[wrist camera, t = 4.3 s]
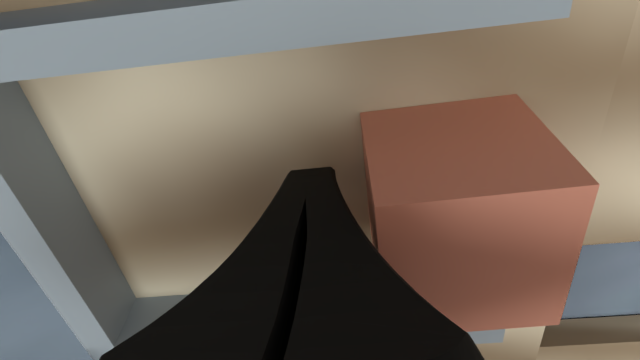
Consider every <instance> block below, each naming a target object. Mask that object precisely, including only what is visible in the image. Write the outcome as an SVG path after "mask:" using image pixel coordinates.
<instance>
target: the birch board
mask: <svg viewBox="0 0 640 360" xmlns="http://www.w3.org/2000/svg"><path fill="white" fill-rule="evenodd" d="M86 1H94V0H0V13H1V12H8V11H16V10H24V9H32V8H39V7H47V6H55V5H63V4H70V3H78V2H86ZM18 83H19V85H20V86H21V88H22V90H23V92H24V94H25V96H26V97H27V99H28V101H29V103H30V105H31V107H32V108H33V110H34V112H35V114H36V116H37V117H38V119H39V121H40V123H41V125H42V127H43V128H44V130H45V132H46V134H47V136H48V138H49V139H50V141H51V143H52V145H53V147H54V149H55V150H56V152H57V154H58V156H59V158H60V160H61V161H62V163H63V165H64V167H65V169H66V170H67V172H68V174H69V176H70V178H71V180H72V181H73V183H74V185H75V187H76V189H77V191H78V192H79V194H80V196H81V198H82V200H83V202H84V203H85V205H86V207H87V209H88V211H89V212H90V214H91V216H92V218H93V220H94V222H95V223H96V225H97V227H98V229H99V231H100V233H101V234H102V236H103V238H104V240H105V242H106V244H107V245H108V247H109V249H110V251H111V253H112V255H113V256H114V258H115V260H116V262H117V264H118V265H119V267H120V269H121V271H122V273H123V275H124V276H125V278H126V280H127V282H128V284H129V286H130V287H131V289H132V291H133V293H134V295H135V297H136V298H144V297H158V296H172V295H187V294H190V293H191V292H192V291H193V290H194V289H195V288H196V287H198V286H199V285H200V284H201V283H202V282H203V281H204V280H205V279H206V278H208V277H209V276H210V275H211V274H212V273H213V272H214V271H215V270H216V269H217V268H218V267H219V266H220V265H221V264H222V263H223V262H224V261H225V260H226V259H227V258H228V257H229V256H230V255H231V254H232V252H233V251H234V250H235V249H236V248H237V247H238V245H239V244H240V243H241V242H242V241H243V239H244V238H245V237H246V236H247V234H248V233H249V232H250V230H251V229H252V228H253V227H254V225H255V224H256V223H257V221H258V220H259V219H260V217H261V216H262V214H263V213H264V211H265V210H266V208H267V207H268V205H269V204H270V202H271V201H272V199H273V198H274V196H275V195H276V193H277V191H278V190H279V188H280V186H281V185H282V183H283V181H284V179H285V178H286V176H287V174H288V173H289V172H290V171H291V170H300V169H310V168H321V167H332V168H333V169H334V170H335V174H336V180H337V183H338V186H339V188H340V191H341V193H342V196H343V198H344V200H345V202H346V203H347V205H348V207H349V209H350V211H351V213H352V215H353V216H354V218H355V219H356V221H357V223H358V224H359V226H360V227H361V229H362V230H363V232H364V233H365V235H366V236H367V238H368V239H369V240H370V242H371V243H372V237H371V230H370V220H369V209H368V198H367V187H366V176H365V164H364V153H363V142H362V131H361V120H360V113H361V112H369V111H377V110H386V109H394V108H403V107H411V106H419V105H428V104H436V103H444V102H453V101H461V100H469V99H478V98H486V97H494V96H503V95H511V94H517V95H518V96H519V97H520V98H521V99H522V100H523V101H524V103H525V104H526V105H527V106H528V107H529V108H530V109H531V110H532V111H533V112H534V113H535V115H536V116H537V117H538V118H539V119H540V120H541V121H542V122H543V123H544V124H545V125H546V127H547V128H548V129H549V130H550V131H551V132H552V133H553V134H554V135H555V136H556V137H557V138H558V140H559V141H560V142H561V143H562V144H563V145H564V146H565V147H566V148H567V149H568V150H569V152H570V153H571V154H572V155H573V156H574V157H575V158H576V159H577V160H578V161H579V162H580V163H581V165H582V166H583V167H584V168H585V169H586V170H587V171H588V172H589V173H590V174H591V175H592V177H593V178H594V179H595V180H596V181H597V182H598V183H599V184H600V185H599V189H598V192H597V196H596V199H595V203H594V206H593V210H592V213H591V217H590V220H589V224H588V227H587V231H586V234H585V237H584V241H583V244H582V245H594V244H607V243H621V242H634V241H640V0H573V1H572V6H571V11H570V16H569V18H561V19H552V20H543V21H534V22H526V23H517V24H508V25H500V26H491V27H482V28H473V29H465V30H456V31H447V32H439V33H430V34H421V35H413V36H404V37H395V38H386V39H378V40H369V41H360V42H352V43H343V44H334V45H325V46H317V47H308V48H299V49H291V50H282V51H273V52H265V53H256V54H247V55H238V56H230V57H221V58H212V59H204V60H195V61H186V62H178V63H169V64H160V65H151V66H143V67H134V68H125V69H117V70H108V71H99V72H90V73H82V74H73V75H64V76H56V77H47V78H38V79H30V80H21V81H18ZM476 346H477V348H478V349H479V351H480V352H481V354H482V356H483V358H484V360H640V315H629V316H613V317H597V318H580V319H564V320H561V321H560V324H559V325H550V326H537V327H524V328H511V329H505V334H504V338H503V342H501V343H484V344H476Z"/></svg>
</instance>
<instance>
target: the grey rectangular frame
mask: <svg viewBox="0 0 640 360" xmlns="http://www.w3.org/2000/svg"><path fill="white" fill-rule="evenodd" d="M572 1H573V0H94V1H86V2H78V3H70V4H63V5H55V6H47V7H39V8H32V9H24V10H16V11H8V12H1V13H0V232H1V233H2V235H3V236H4V237H5V239H6V240H7V242H8V243H9V244H10V246H11V247H12V249H13V250H14V251H15V253H16V254H17V255H18V257H19V258H20V260H21V261H22V262H23V264H24V265H25V266H26V268H27V269H28V271H29V272H30V273H31V275H32V276H33V278H34V279H35V280H36V282H37V283H38V284H39V286H40V287H41V289H42V290H43V291H44V293H45V294H46V296H47V297H48V298H49V300H50V301H51V302H52V304H53V305H54V307H55V308H56V309H57V311H58V312H59V313H60V315H61V316H62V318H63V319H64V320H65V322H66V323H67V325H68V326H69V327H70V329H71V330H72V331H73V333H74V334H75V336H76V337H77V338H78V340H79V341H80V343H81V344H82V345H83V347H84V348H85V349H86V351H87V352H88V354H89V355H90V356H91V358H92V359H93V360H99V359H100V357H101V355H103V354H105V353H106V352H108V351H109V350H111V349H113V348H114V347H116V346H117V345H119V344H120V343H122V342H123V341H125V340H126V339H128V338H130V337H131V336H133V335H134V334H136V333H137V332H139V331H140V330H142V329H143V328H145V327H146V326H148V325H149V324H151V323H152V322H153V321H155V320H156V319H158V318H159V317H160V316H162V315H163V314H164V313H166V312H167V311H168V310H170V309H171V308H172V307H174V306H175V305H176V304H177V303H179V302H180V301H181V300H182V299H184V298H185V297H186V296H187V295H189V294H187V295H172V296H158V297H144V298H136V297H135V295H134V293H133V291H132V289H131V287H130V286H129V284H128V282H127V280H126V278H125V276H124V275H123V273H122V271H121V269H120V267H119V265H118V264H117V262H116V260H115V258H114V256H113V255H112V253H111V251H110V249H109V247H108V245H107V244H106V242H105V240H104V238H103V236H102V234H101V233H100V231H99V229H98V227H97V225H96V223H95V222H94V220H93V218H92V216H91V214H90V212H89V211H88V209H87V207H86V205H85V203H84V202H83V200H82V198H81V196H80V194H79V192H78V191H77V189H76V187H75V185H74V183H73V181H72V180H71V178H70V176H69V174H68V172H67V170H66V169H65V167H64V165H63V163H62V161H61V160H60V158H59V156H58V154H57V152H56V150H55V149H54V147H53V145H52V143H51V141H50V139H49V138H48V136H47V134H46V132H45V130H44V128H43V127H42V125H41V123H40V121H39V119H38V117H37V116H36V114H35V112H34V110H33V108H32V107H31V105H30V103H29V101H28V99H27V97H26V96H25V94H24V92H23V90H22V88H21V86H20V85H19V83H18V81H21V80H30V79H38V78H47V77H56V76H64V75H73V74H82V73H90V72H99V71H108V70H117V69H125V68H134V67H143V66H151V65H160V64H169V63H178V62H186V61H195V60H204V59H212V58H221V57H230V56H238V55H247V54H256V53H265V52H273V51H282V50H291V49H299V48H308V47H317V46H325V45H334V44H343V43H352V42H360V41H369V40H378V39H386V38H395V37H404V36H413V35H421V34H430V33H439V32H447V31H456V30H465V29H473V28H482V27H491V26H500V25H508V24H517V23H526V22H534V21H543V20H552V19H561V18H569V16H570V11H571V6H572ZM467 333H468V334H469V335H470V336H471V338H472V339H473V341H474V343H475V344H484V343H501V342H503V338H504V334H505V329H498V330H485V331H472V332H467Z"/></svg>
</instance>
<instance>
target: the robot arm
mask: <svg viewBox="0 0 640 360" xmlns="http://www.w3.org/2000/svg"><path fill="white" fill-rule="evenodd" d="M99 360H484V358H483V356H482V354H481V352H480V351H479V349H478V348H477V346H476V344H475V343H474V341H473V339H472V338H471V336H470V335H469V334H468V333H467V332H466V331H464V330H463V329H462V328H460V327H459V326H458V325H456V324H455V323H454V322H452V321H451V320H450V319H448V318H447V317H446V316H444V315H443V314H442V313H441V312H439V311H438V310H437V309H436V308H434V307H433V306H432V305H431V304H430V303H429V302H427V301H426V300H425V299H424V298H423V297H422V296H421V295H419V294H418V293H417V292H416V291H415V290H414V289H413V288H412V287H411V286H410V285H409V284H408V283H407V282H406V281H405V280H404V279H403V278H402V277H401V276H400V275H399V274H398V273H397V272H396V271H395V270H394V269H393V268H392V267H391V266H390V265H389V264H388V262H387V261H386V260H385V259H384V258H383V257H382V256H381V254H380V253H379V252H378V251H377V249H376V248H375V247H374V246H373V244H372V243H371V242H370V240H369V239H368V238H367V236H366V235H365V233H364V232H363V230H362V229H361V227H360V226H359V224H358V223H357V221H356V219H355V218H354V216H353V215H352V213H351V211H350V209H349V207H348V205H347V203H346V202H345V200H344V198H343V196H342V193H341V191H340V188H339V186H338V183H337V180H336V174H335V170H334V169H333V168H332V167H321V168H310V169H300V170H291V171H290V172H289V173H288V174H287V176H286V178H285V179H284V181H283V183H282V185H281V186H280V188H279V190H278V191H277V193H276V195H275V196H274V198H273V199H272V201H271V202H270V204H269V205H268V207H267V208H266V210H265V211H264V213H263V214H262V216H261V217H260V219H259V220H258V221H257V223H256V224H255V225H254V227H253V228H252V229H251V230H250V232H249V233H248V234H247V236H246V237H245V238H244V239H243V241H242V242H241V243H240V244H239V245H238V247H237V248H236V249H235V250H234V251H233V252H232V254H231V255H230V256H229V257H228V258H227V259H226V260H225V261H224V262H223V263H222V264H221V265H220V266H219V267H218V268H217V269H216V270H215V271H214V272H213V273H212V274H211V275H210V276H209V277H208V278H206V279H205V280H204V281H203V282H202V283H201V284H200V285H199V286H198V287H196V288H195V289H194V290H193V291H192V292H191V293H190V294H189V295H187V296H186V297H185V298H184V299H182V300H181V301H180V302H179V303H177V304H176V305H175V306H174V307H172V308H171V309H170V310H168V311H167V312H166V313H164V314H163V315H162V316H160V317H159V318H158V319H156V320H155V321H153V322H152V323H151V324H149V325H148V326H146V327H145V328H143V329H142V330H140V331H139V332H137V333H136V334H134V335H133V336H131V337H130V338H128V339H126V340H125V341H123V342H122V343H120V344H119V345H117V346H116V347H114V348H113V349H111V350H109V351H108V352H106V353H105V354H103V355H101V357H100V359H99Z"/></svg>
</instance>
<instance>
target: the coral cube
mask: <svg viewBox="0 0 640 360" xmlns="http://www.w3.org/2000/svg"><path fill="white" fill-rule="evenodd" d="M360 120H361V131H362V142H363V153H364V164H365V176H366V187H367V198H368V209H369V220H370V230H371V237H372V244H373V246H374V247H375V248H376V249H377V251H378V252H379V253H380V254H381V256H382V257H383V258H384V259H385V260H386V261H387V262H388V264H389V265H390V266H391V267H392V268H393V269H394V270H395V271H396V272H397V273H398V274H399V275H400V276H401V277H402V278H403V279H404V280H405V281H406V282H407V283H408V284H409V285H410V286H411V287H412V288H413V289H414V290H415V291H416V292H417V293H418V294H419V295H421V296H422V297H423V298H424V299H425V300H426V301H427V302H429V303H430V304H431V305H432V306H433V307H434V308H436V309H437V310H438V311H439V312H441V313H442V314H443V315H444V316H446V317H447V318H448V319H450V320H451V321H452V322H454V323H455V324H456V325H458V326H459V327H460V328H462V329H463V330H464V331H466V332H472V331H485V330H498V329H511V328H524V327H537V326H550V325H559V324H560V321H561V317H562V314H563V310H564V307H565V303H566V300H567V296H568V293H569V289H570V286H571V282H572V279H573V276H574V272H575V269H576V265H577V262H578V258H579V255H580V251H581V248H582V244H583V241H584V237H585V234H586V231H587V227H588V224H589V220H590V217H591V213H592V210H593V206H594V203H595V199H596V196H597V192H598V189H599V185H600V184H599V183H598V182H597V181H596V180H595V179H594V178H593V177H592V175H591V174H590V173H589V172H588V171H587V170H586V169H585V168H584V167H583V166H582V165H581V163H580V162H579V161H578V160H577V159H576V158H575V157H574V156H573V155H572V154H571V153H570V152H569V150H568V149H567V148H566V147H565V146H564V145H563V144H562V143H561V142H560V141H559V140H558V138H557V137H556V136H555V135H554V134H553V133H552V132H551V131H550V130H549V129H548V128H547V127H546V125H545V124H544V123H543V122H542V121H541V120H540V119H539V118H538V117H537V116H536V115H535V113H534V112H533V111H532V110H531V109H530V108H529V107H528V106H527V105H526V104H525V103H524V101H523V100H522V99H521V98H520V97H519V96H518V95H517V94H511V95H503V96H494V97H486V98H478V99H469V100H461V101H453V102H444V103H436V104H428V105H419V106H411V107H403V108H394V109H386V110H377V111H369V112H361V113H360Z"/></svg>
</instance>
